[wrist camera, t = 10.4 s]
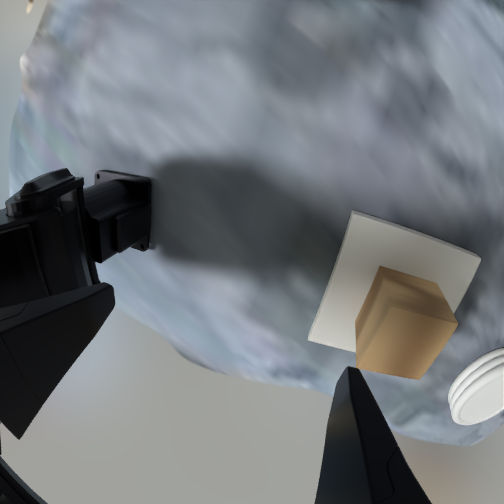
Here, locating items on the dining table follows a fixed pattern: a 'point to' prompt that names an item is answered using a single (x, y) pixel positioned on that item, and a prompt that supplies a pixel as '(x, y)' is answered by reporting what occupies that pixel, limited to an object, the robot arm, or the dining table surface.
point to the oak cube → (402, 325)
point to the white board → (390, 256)
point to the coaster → (479, 390)
